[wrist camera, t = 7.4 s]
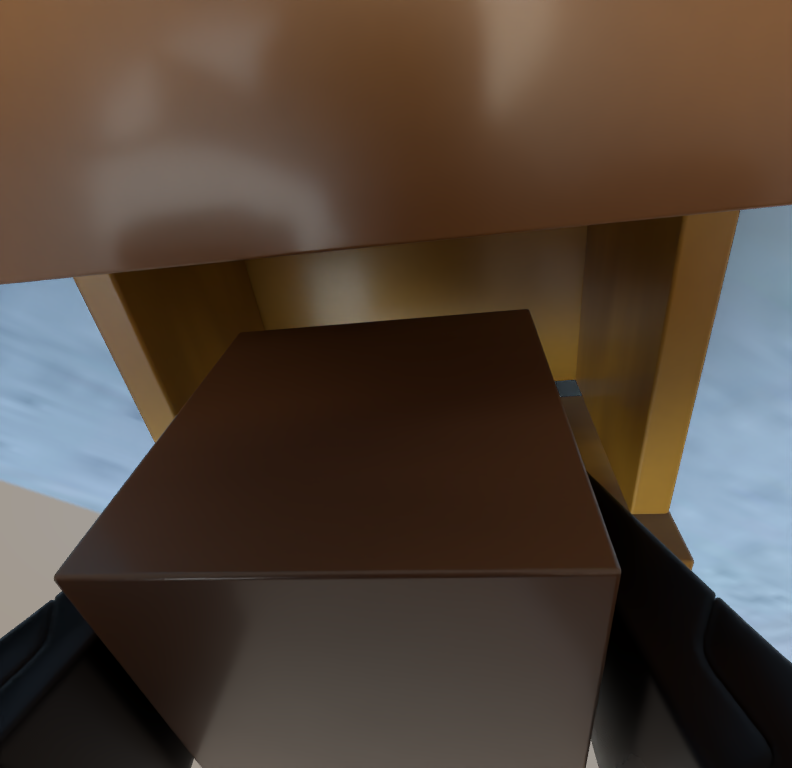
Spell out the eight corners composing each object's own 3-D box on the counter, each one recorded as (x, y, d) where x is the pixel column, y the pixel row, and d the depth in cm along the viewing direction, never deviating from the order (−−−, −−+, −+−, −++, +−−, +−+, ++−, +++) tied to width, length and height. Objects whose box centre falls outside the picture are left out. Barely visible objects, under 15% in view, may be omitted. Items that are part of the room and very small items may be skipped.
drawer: (596, 505, 20) (658, 686, 14) (297, 512, 21) (243, 675, 16) (665, -37, 11) (913, -154, 5) (144, 51, 12) (-109, 37, 7)
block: (529, 307, 8) (624, 572, 4) (525, 520, 11) (578, 814, 6) (238, 331, 9) (47, 579, 4) (303, 525, 11) (221, 795, 7)
